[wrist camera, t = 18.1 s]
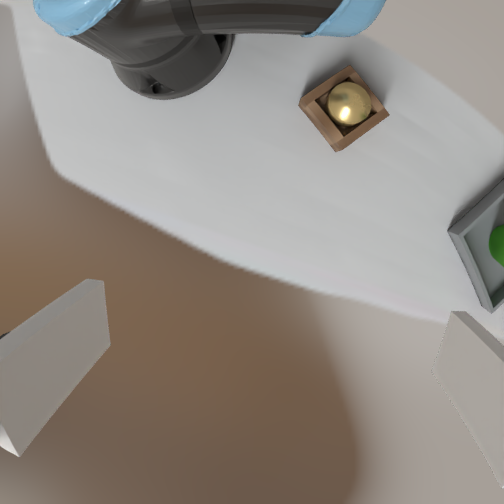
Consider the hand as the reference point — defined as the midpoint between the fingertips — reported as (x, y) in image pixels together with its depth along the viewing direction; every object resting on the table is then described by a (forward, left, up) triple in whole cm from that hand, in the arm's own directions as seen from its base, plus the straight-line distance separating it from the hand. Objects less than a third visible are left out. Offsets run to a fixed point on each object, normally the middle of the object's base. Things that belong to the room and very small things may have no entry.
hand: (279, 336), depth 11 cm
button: (-5, +14, -26) cm, 30 cm away
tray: (+22, +24, -28) cm, 43 cm away
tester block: (-5, +14, -28) cm, 32 cm away
